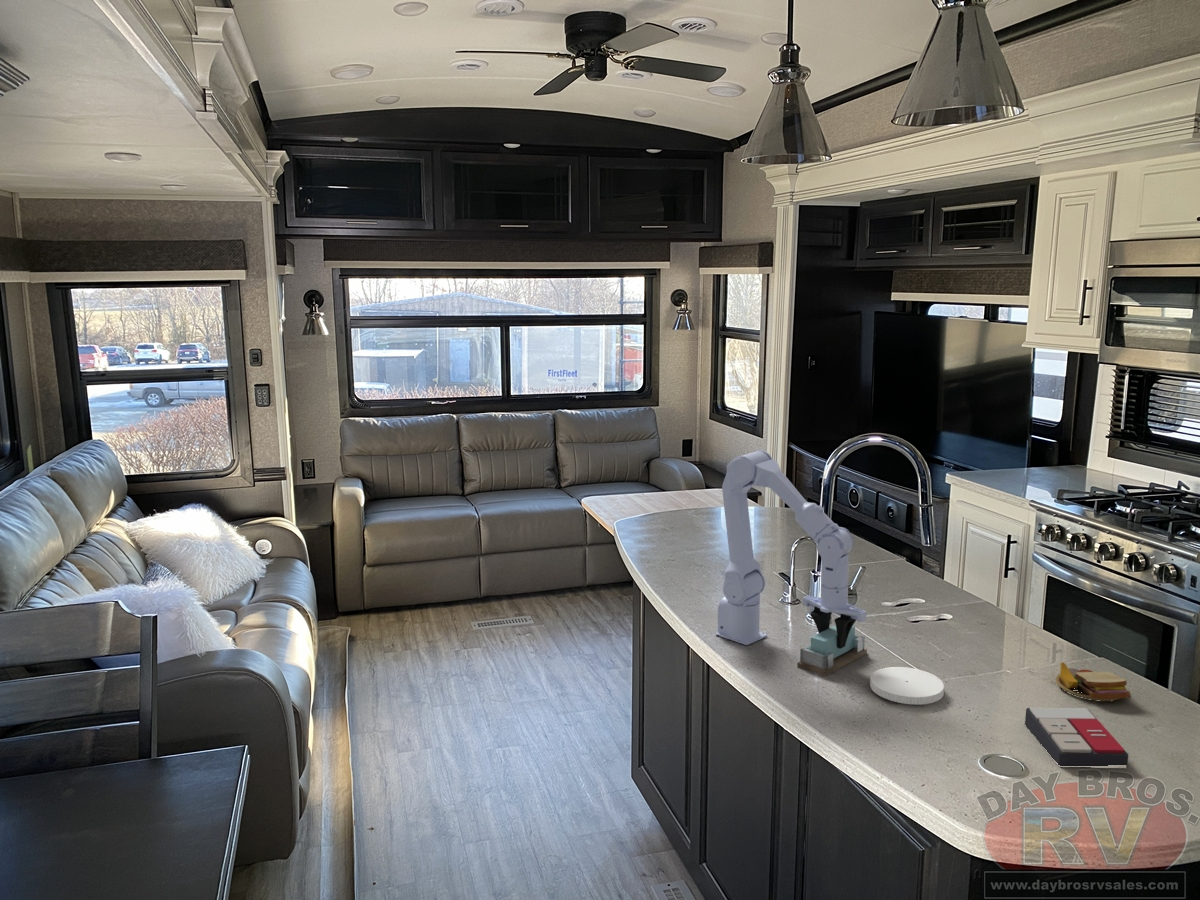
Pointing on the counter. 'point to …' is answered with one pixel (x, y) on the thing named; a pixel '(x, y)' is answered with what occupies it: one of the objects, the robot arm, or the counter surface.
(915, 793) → the counter surface
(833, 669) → the end cap board
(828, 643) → the teal rectangular block
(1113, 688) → the toy sandwich meal
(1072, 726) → the calculator
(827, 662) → the end caps
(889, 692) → the plastic lid
